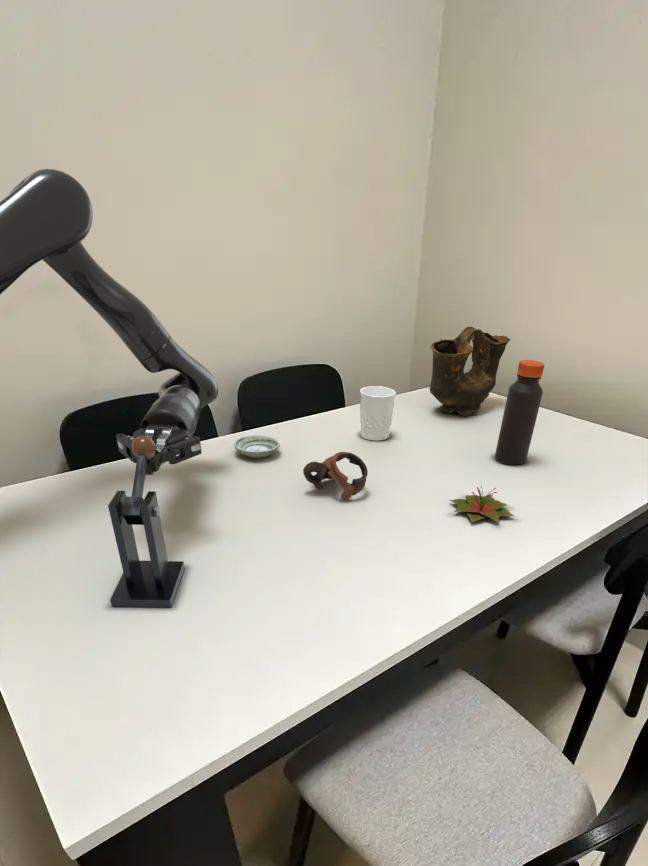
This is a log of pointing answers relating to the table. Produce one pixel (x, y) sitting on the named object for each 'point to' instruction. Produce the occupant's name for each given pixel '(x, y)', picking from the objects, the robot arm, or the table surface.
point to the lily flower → (481, 507)
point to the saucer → (257, 445)
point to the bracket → (143, 578)
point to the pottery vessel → (473, 385)
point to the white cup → (376, 412)
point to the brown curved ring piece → (337, 473)
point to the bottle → (520, 414)
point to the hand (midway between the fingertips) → (145, 468)
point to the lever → (138, 479)
